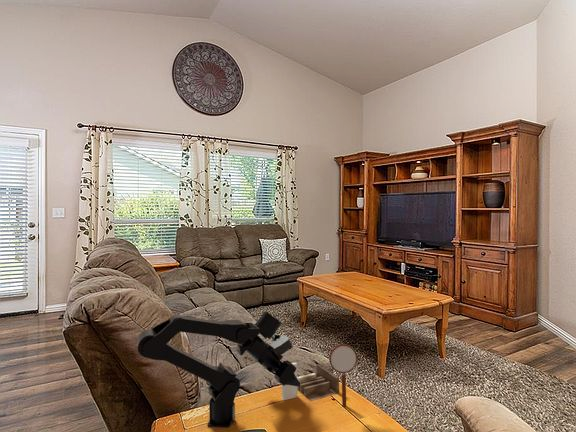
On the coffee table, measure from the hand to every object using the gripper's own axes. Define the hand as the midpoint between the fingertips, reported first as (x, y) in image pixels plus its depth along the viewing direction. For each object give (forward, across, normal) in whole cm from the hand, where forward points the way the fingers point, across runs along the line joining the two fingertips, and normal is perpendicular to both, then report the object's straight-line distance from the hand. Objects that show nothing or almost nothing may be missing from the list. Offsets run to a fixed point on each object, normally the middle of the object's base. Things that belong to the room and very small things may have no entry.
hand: (292, 379), depth 110 cm
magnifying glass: (+13, -12, -3) cm, 18 cm away
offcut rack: (+11, +1, -1) cm, 12 cm away
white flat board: (+4, 0, +6) cm, 7 cm away
